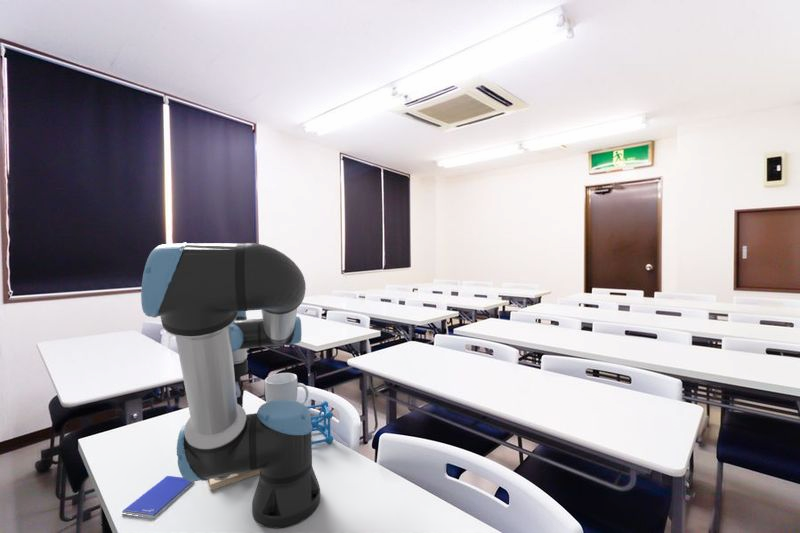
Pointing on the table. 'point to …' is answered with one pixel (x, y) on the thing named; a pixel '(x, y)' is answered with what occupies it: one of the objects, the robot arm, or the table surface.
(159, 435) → the table surface
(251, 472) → the wooden base mechanism
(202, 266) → the robot arm
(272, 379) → the mug
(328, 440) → the molecular structure
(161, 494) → the hard drive
